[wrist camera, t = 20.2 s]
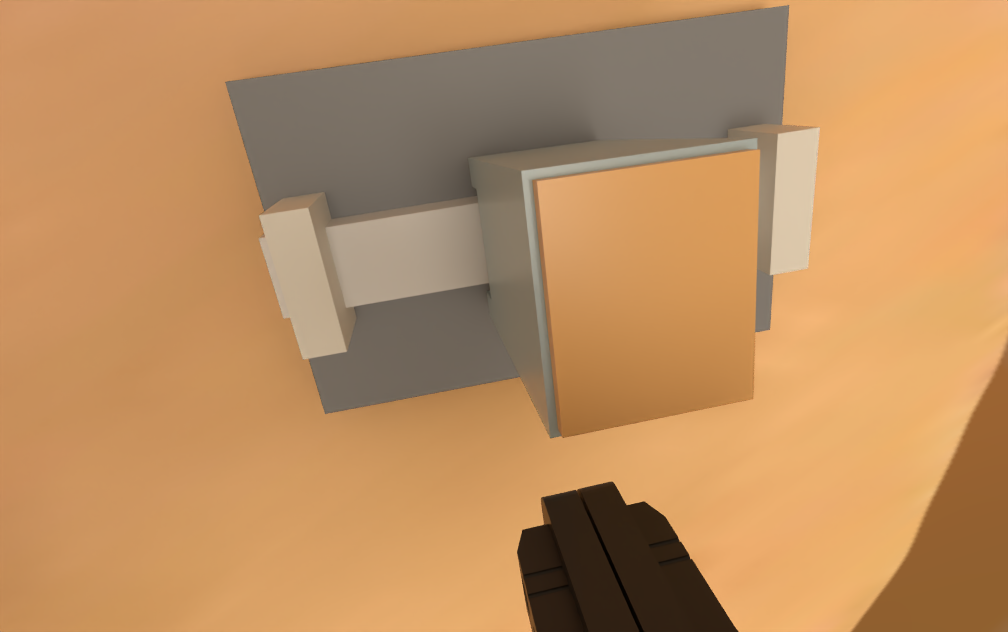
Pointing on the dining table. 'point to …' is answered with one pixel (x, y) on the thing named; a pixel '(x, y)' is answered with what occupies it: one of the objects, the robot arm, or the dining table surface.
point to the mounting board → (453, 201)
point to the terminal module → (624, 275)
